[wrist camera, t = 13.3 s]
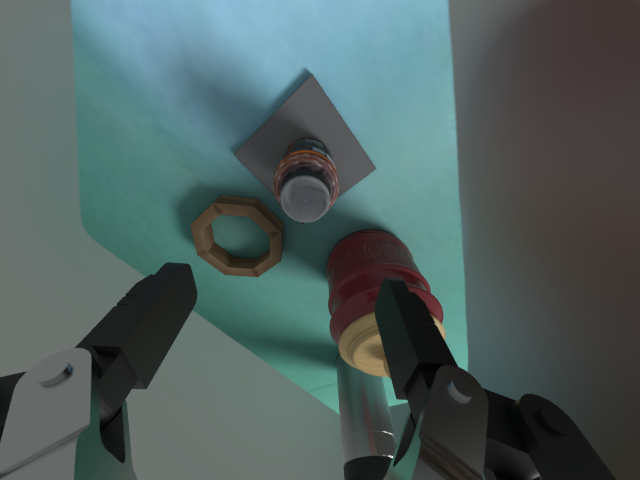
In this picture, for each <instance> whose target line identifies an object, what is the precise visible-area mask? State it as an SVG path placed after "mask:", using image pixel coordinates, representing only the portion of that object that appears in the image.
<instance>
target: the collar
mask: <svg viewBox="0 0 640 480" xmlns="http://www.w3.org/2000/svg"><path fill="white" fill-rule="evenodd" d="M220 214H221V215H233V216H245V217H250V218H251V219H252V220H253V221H254V222H255V223H257V224H258V225H259V226H260V227H261V228H262V229H263V230H264V231H265V232H267V233H268V234H269V235H270V249H269V250H268V251H266V252H265V253H264V254H262V255H261V256H260V257H258V258H257V259H254V258H241V257H233V256H232V255H230V254H229V253H228V252H226V251H225V250H224V249H223V248H221V247H220V246H219V245H217V244H216V243H215V242H214V237H213V231H212V226H211V223H212V222H213V221H214V220H215V219H216V218H217V217H218V216H219V215H220ZM190 226H191V230H192V234H193V238H194V243H195V247H196V251H197V255H198V256H200V257H201V258H202V259H204V260H205V261H207V262H208V263H209V264H211V265H212V266H214V267H215V268H216V269H218V270H219V271H220V272H222V273H223V274H225V275H235V276H250V277H259V276H260V275H261V274H263V273H264V272H266V271H267V270H269V269H270V268H271V267H273V266H274V265H276V264H277V263H278V262H280V261H281V257H282V253H283V222H282V221H281V220H280V219H279V218H278V217H276V216H275V215H274V214H273V213H272V212H271V211H270V210H269V209H268V208H267V207H266V206H265V205H264V204H263V203H262V202H261V201H260V200H259V199H258V198H247V197H235V196H224V195H220V196H219V197H218V198H217V199H216V200H215V201H214V202H213V203H212V204H211V205H210V206H209V207H208V208H207V209H206V210H205V211H204V212H203V213H202V214H201V215H199V216H198V218H197V219H196V220H195V221H194V222H193V223H192V224H191V225H190Z"/></svg>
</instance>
